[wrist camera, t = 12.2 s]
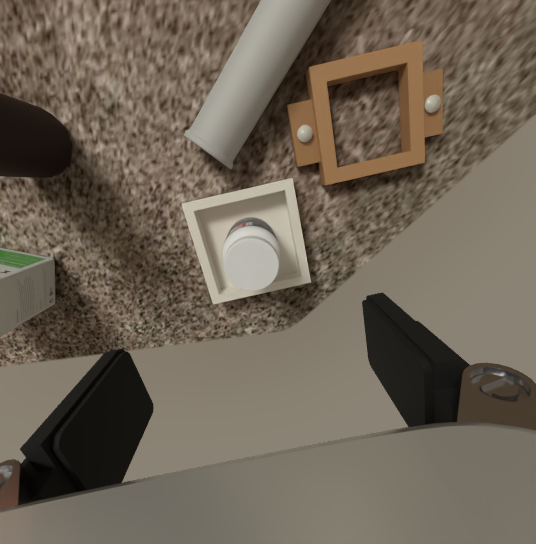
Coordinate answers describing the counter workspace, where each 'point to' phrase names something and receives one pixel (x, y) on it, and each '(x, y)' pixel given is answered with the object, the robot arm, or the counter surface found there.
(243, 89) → the tube
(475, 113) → the counter surface
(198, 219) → the parts tray
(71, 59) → the counter surface
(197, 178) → the counter surface
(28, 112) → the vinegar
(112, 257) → the counter surface
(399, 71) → the brown flat square frame
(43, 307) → the skincare box
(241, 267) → the pill bottle
